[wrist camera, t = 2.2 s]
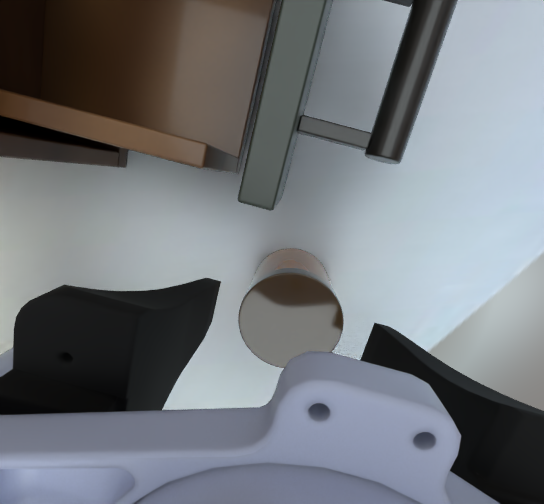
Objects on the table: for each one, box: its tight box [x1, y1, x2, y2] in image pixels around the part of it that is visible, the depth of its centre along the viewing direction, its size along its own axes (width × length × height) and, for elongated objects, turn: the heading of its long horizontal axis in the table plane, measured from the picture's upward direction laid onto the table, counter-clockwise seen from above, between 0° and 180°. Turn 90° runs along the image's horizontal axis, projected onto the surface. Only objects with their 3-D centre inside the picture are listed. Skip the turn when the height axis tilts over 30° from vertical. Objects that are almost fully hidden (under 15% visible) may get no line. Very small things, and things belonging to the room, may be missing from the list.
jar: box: [238, 248, 343, 368], centre depth 15 cm, size 5×5×5 cm
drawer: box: [0, 0, 458, 210], centre depth 11 cm, size 18×11×7 cm, turn 76°
